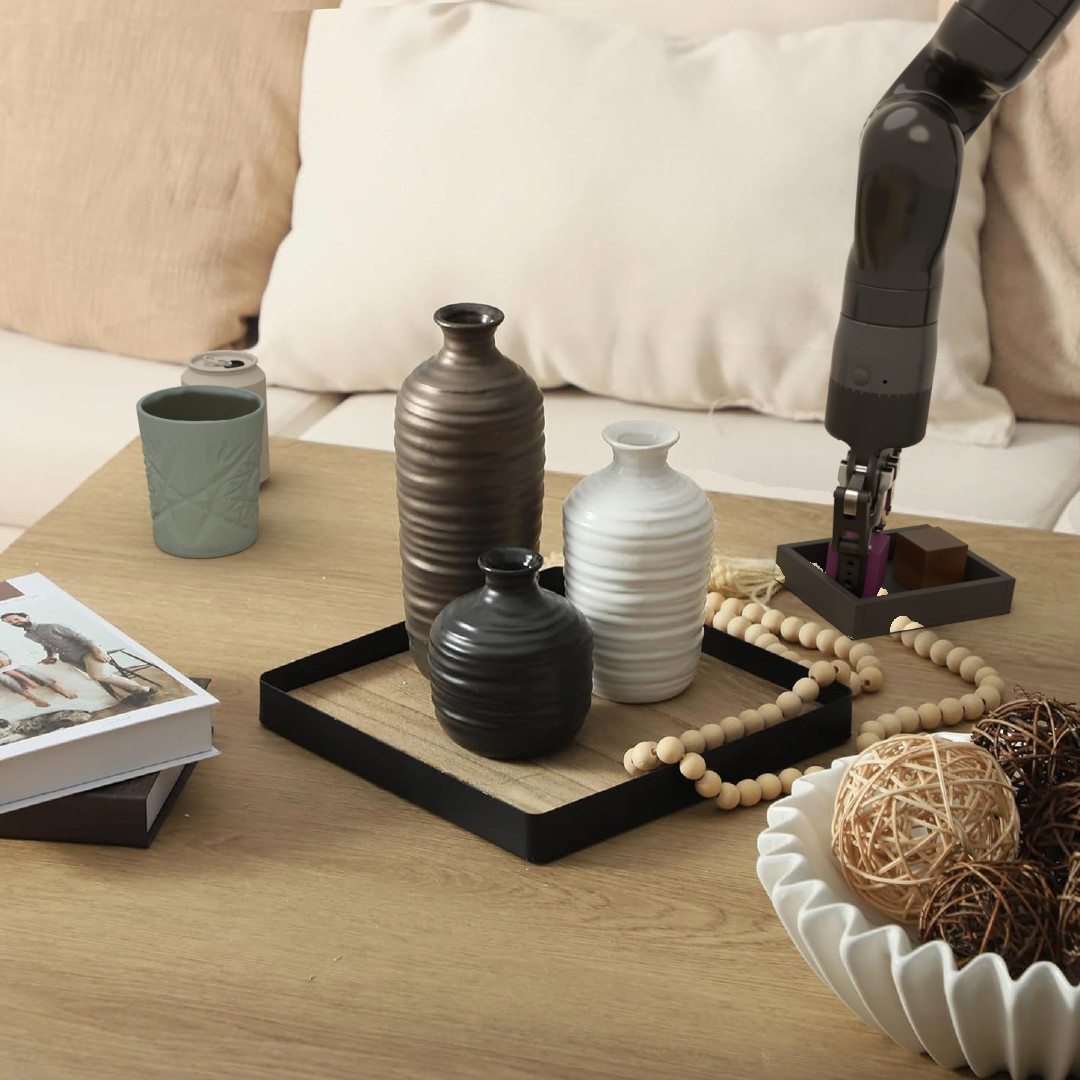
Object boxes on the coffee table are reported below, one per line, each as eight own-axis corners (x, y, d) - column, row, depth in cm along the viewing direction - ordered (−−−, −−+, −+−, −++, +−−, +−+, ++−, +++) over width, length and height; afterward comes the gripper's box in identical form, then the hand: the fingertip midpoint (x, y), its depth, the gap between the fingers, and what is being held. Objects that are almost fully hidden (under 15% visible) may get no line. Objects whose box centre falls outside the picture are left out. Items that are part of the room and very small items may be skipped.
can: (266, 498, 133) (260, 370, 128) (182, 498, 132) (173, 369, 127) (273, 468, 140) (268, 346, 135) (193, 468, 139) (185, 345, 134)
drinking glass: (126, 532, 125) (114, 397, 120) (231, 506, 131) (224, 376, 126) (184, 572, 118) (174, 430, 113) (293, 542, 124) (288, 406, 119)
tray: (922, 555, 125) (927, 523, 124) (1010, 613, 116) (1016, 578, 114) (773, 578, 120) (776, 544, 119) (851, 640, 110) (856, 604, 109)
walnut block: (931, 570, 121) (938, 526, 120) (961, 590, 118) (969, 544, 116) (890, 577, 120) (897, 532, 118) (919, 597, 117) (926, 551, 115)
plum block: (834, 572, 119) (840, 526, 117) (884, 581, 117) (890, 535, 116) (823, 591, 115) (828, 544, 114) (874, 601, 114) (880, 553, 112)
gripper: (915, 409, 102) (884, 630, 109) (947, 357, 114) (918, 560, 121) (808, 393, 105) (785, 610, 111) (851, 344, 117) (828, 543, 123)
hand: (854, 583), depth 116 cm, fingers closed on plum block, 4 cm apart
